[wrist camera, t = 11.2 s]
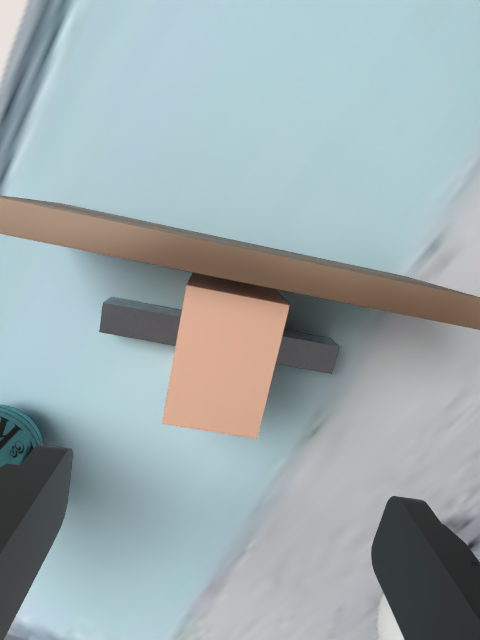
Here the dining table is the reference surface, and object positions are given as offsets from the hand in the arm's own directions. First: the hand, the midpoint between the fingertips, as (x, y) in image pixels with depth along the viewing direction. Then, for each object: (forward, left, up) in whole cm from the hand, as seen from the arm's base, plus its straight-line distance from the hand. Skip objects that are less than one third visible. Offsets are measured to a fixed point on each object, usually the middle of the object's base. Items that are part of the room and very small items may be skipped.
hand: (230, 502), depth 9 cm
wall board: (-5, 0, -18) cm, 19 cm away
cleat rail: (+1, 0, -18) cm, 18 cm away
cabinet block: (+1, 0, -18) cm, 18 cm away
